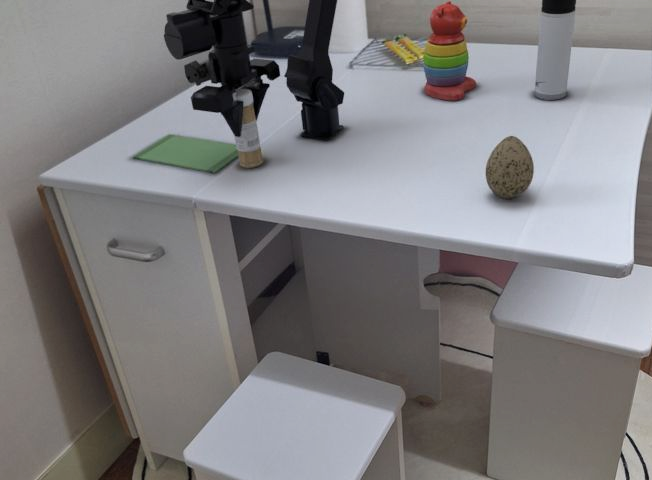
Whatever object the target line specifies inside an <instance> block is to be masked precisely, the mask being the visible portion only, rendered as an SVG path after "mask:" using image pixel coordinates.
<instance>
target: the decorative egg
mask: <svg viewBox="0 0 652 480" xmlns="http://www.w3.org/2000/svg"><path fill="white" fill-rule="evenodd" d="M534 170H535V167H534V160H533V157H532V154H531V152H530V150H529V149H528V147H527V146H526V144H525V143H524V142H523V141H522V140H521V139H519V138H518V137H517V136H514V135H509V136H506V137H504V138H503V139H502V140H501V141H499V143H497V145H496V146H495V147H494V148H493V150H492V151H491V153H490V154H489V157H488V159H487V162H486V166H485V180H486V184H487V185H488V188H489V189H490V191H491V192H492V193H493V194H494V195H495V196H497V197H499V198H501V199H508V200H510V199H514V198H518V197H519V196H521V195H522V194H524V193H525V192H526V191H527V190H528V188H529V187H530V186H531V184H532V182H533V178H534V173H535V171H534Z"/></svg>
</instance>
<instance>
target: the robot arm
mask: <svg viewBox="0 0 652 480" xmlns="http://www.w3.org/2000/svg"><path fill="white" fill-rule="evenodd" d="M337 4H338V0H308V6H307V11H306V12H307V13H306V18H305V24H304V25H305V26H304V29H303V37H302V43H301V47H300V49H299V50H298V51H297V53H296V54H295V55H292V54H288V57H287V64H286V65H287V66H286V69H285V70H286V71H285V73H284V75H283V77H284V78H286V81H285V83H286V87H287V88H288V91H289V92H290V93H291V94H292V95H293V96H294V98H295V101H296V102H298V103H299V102H300V103H301V109H300V117H301V127H302V131H303V132H301V133H300V137H302V138H308V139H315V140H322V141H331V139H333V138H334V137H335V136H337V134H339V133H340V132H341V131H342V130H344V129H345V126H344V125H342V124H340V115H339V106H340V105H343V103H344V98H345V92H344V90H342V88H339V86H337V85H336V84H335V83H334V82H333V72H334V69H333V65H332V61H331V58H330V54H329V49H330V43H331V38H332V31H333V27H334V23H335V15H336V10H337V6H338V5H337ZM254 7H255V6H254V4H253V3H251V2H250V1H248V0H213V1H210V0H187V3H186V10H182V11H179V12H175V11H174V12H170V13H167V14H166V21H167V22H166V23H165V25H164V34H163V40H164V43H165V46H166V48H167V50H168V52H169V53H170V55H171V56H172V57H173V58H174V59H175V60H177V61H178V60H183V59H187V58H189V57H192V56H193V57H194V56H196V55H199V54H202V53H205V52H208V51H209V52H208V55H207V57H208V59H205V60H203V61H201V62H198V61H197V60H196V59H195V60H193V61H191V62H188V63H187V64H186V63H185V64H184V65H183V69H184V74H185V78H186V80H187V82H188V83H190V84H193V83H195V85H196V87H199V86H201V85H202V84H203V83H206V82H209V81H210V84H215V85H217V84H220V86H212V85H205V86H203V87H201V88H199V89H198V90H195V91H194V92H193V93H192V95H191V96H190V102H191V107H192V110H194V111H201V112H206V113H207V112H208V113H215V114H219V113H220V114H221V116H222V117H223V118H224V120H225V122H226V123H227V125H228V127H229V128H230V130H231V132H232V134H233V136H234V135H235V136H236V137H240V136H241V131H242V117H243V101H238V100H237V96H236V93H237V92H236V91H238V90H239V89H248V90H250V91H251V92H252V95H253V107H254V112H255V117H256V122H257V121H258V118H259V115H260V112H261V109H262V105H263V102H264V100H265V97H266V95H267V92H268V89H269V88H270V86H271V85H270V83H268V82H264V79H263V78H262V76H266V79H268V80H269V81H271V82H272V81H274V80H276V79H278V78H280V77H281V70H280V65H279V64H278V63H277V62H276V61H275V59H264V58H253V59H251V58H250V55H251V54H253V53H254V52H255V49H254V45H249V44H248V37H247V32H246V25H245V18H244V13H245V12H247V11H251V10H254ZM212 48H213V50H212ZM257 123H258V122H257Z"/></svg>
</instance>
